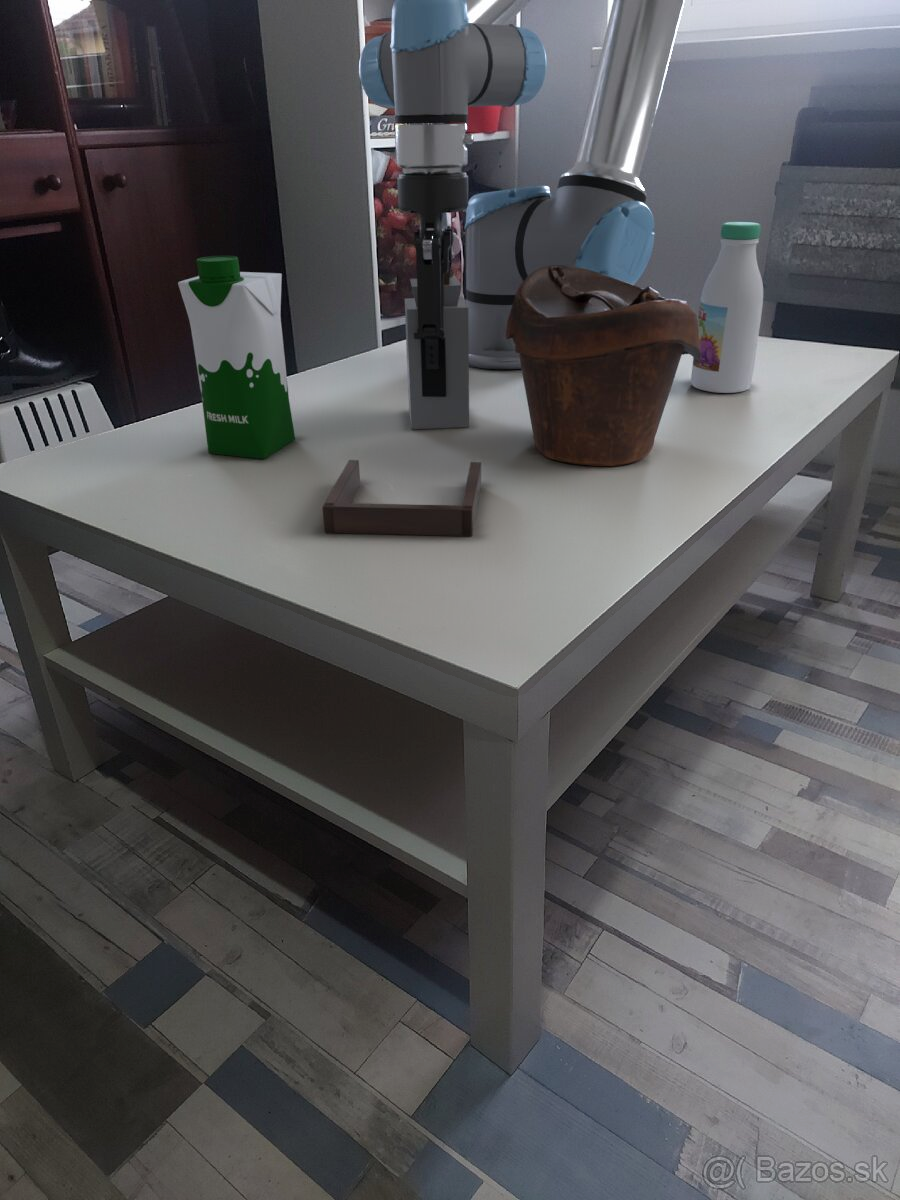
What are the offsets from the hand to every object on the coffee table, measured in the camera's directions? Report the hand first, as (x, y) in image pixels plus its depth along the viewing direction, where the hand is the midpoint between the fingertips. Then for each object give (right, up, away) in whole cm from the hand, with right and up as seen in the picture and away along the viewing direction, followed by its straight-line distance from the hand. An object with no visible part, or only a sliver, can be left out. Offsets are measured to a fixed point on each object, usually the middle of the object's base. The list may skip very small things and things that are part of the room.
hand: (437, 387), depth 105 cm
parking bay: (-2, -16, -22) cm, 27 cm away
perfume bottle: (0, -4, +2) cm, 4 cm away
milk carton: (-20, -8, -6) cm, 23 cm away
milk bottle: (+37, +3, +13) cm, 39 cm away
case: (+17, -9, -8) cm, 21 cm away
